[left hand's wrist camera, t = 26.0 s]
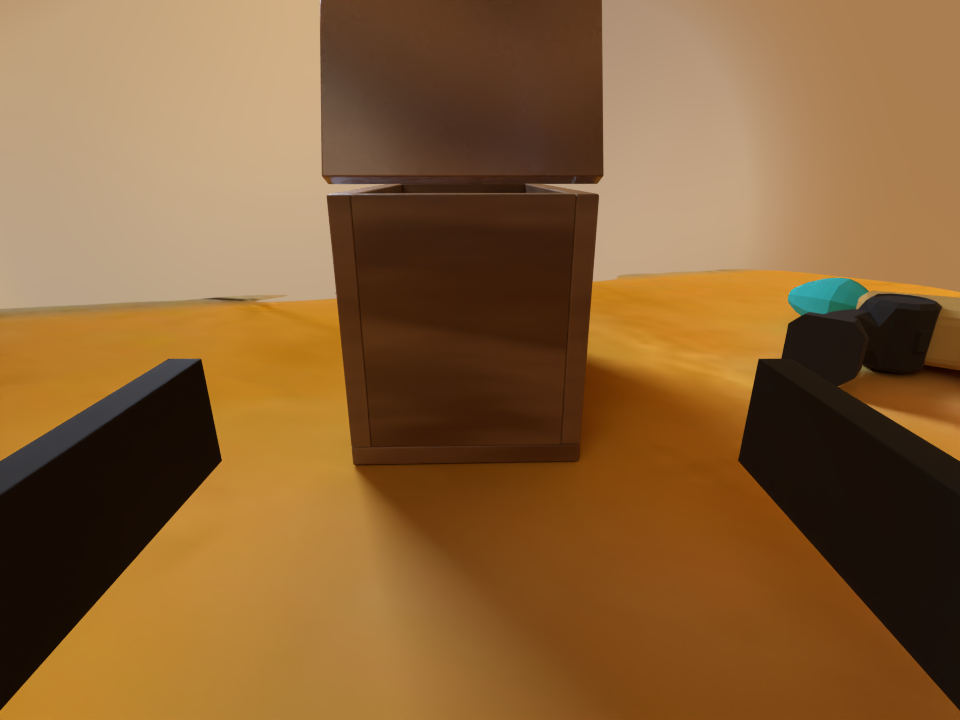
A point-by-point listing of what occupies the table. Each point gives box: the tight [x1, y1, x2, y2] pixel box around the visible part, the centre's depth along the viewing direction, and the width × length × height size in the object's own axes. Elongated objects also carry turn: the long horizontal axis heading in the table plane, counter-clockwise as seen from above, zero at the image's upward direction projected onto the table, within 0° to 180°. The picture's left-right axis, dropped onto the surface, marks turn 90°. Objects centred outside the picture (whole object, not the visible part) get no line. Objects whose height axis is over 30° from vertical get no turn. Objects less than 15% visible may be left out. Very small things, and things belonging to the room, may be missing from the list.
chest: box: [327, 184, 599, 465], centre depth 28 cm, size 17×10×11 cm, turn 2°
